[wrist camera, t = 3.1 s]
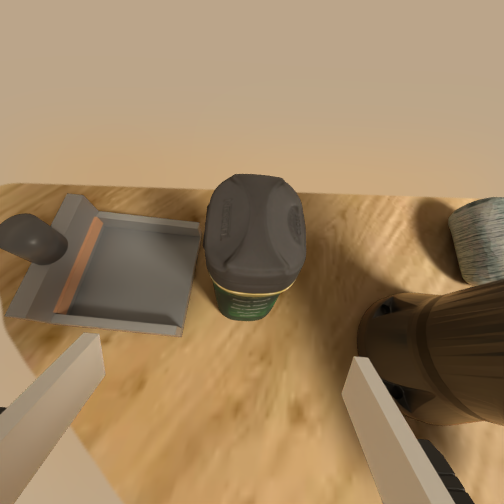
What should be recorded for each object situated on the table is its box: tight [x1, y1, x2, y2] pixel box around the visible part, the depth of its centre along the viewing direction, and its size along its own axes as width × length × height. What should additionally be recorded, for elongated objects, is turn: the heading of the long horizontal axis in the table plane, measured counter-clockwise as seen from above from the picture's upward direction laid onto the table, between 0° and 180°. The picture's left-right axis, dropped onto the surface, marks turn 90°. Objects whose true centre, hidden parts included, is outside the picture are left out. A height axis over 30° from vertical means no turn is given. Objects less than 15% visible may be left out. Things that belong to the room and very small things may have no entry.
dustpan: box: [0, 193, 202, 337], centre depth 27 cm, size 17×15×11 cm
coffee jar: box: [203, 174, 306, 321], centre depth 24 cm, size 10×8×19 cm
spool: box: [448, 197, 504, 286], centre depth 34 cm, size 14×10×10 cm
